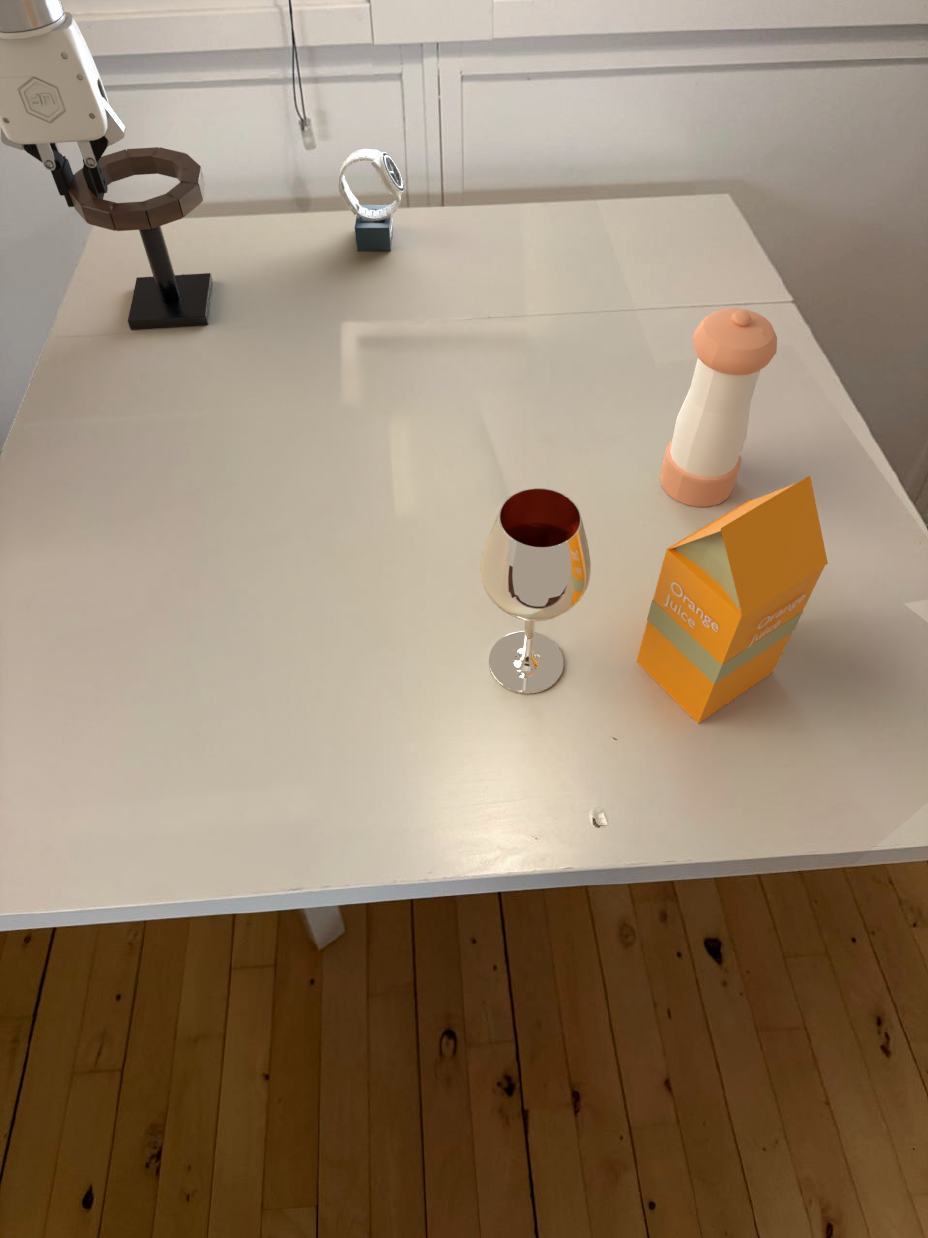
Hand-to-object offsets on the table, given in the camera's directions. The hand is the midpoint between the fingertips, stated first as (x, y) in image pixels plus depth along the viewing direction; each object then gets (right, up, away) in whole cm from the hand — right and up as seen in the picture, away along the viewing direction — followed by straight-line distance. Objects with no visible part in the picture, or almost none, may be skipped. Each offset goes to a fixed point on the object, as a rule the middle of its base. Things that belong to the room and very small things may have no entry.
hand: (86, 198), depth 97 cm
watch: (+29, +4, +20) cm, 36 cm away
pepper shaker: (+64, -32, -7) cm, 72 cm away
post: (+6, -8, +11) cm, 15 cm away
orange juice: (+61, -50, -21) cm, 82 cm away
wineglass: (+46, -49, -20) cm, 71 cm away
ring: (+6, 0, 0) cm, 6 cm away
